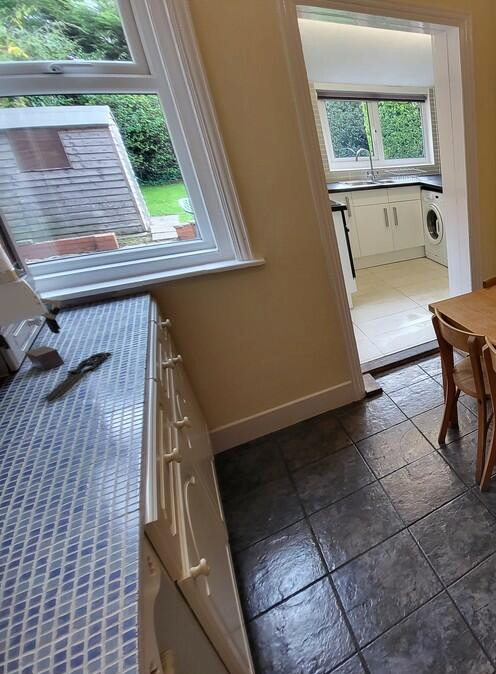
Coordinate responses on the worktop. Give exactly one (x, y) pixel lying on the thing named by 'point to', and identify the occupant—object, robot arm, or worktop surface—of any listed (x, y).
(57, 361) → the walnut bar
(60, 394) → the knife
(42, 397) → the worktop surface
